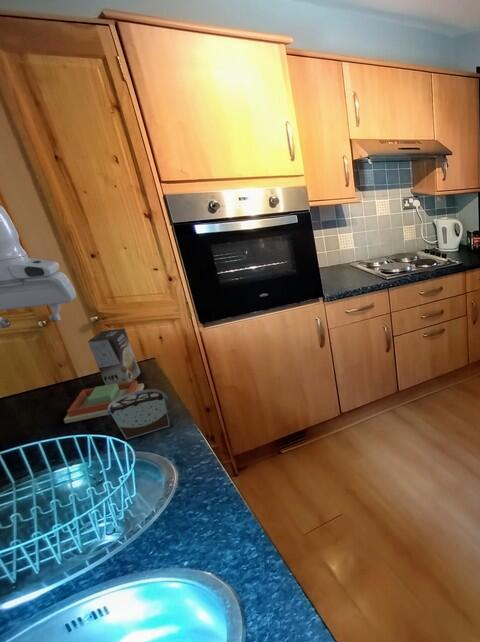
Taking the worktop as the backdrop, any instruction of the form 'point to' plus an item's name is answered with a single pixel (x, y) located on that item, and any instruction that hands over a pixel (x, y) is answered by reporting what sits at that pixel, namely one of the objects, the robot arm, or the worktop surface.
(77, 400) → the orange tray
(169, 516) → the worktop surface
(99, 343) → the coffee box
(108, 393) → the green pad
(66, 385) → the worktop surface
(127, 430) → the food container
